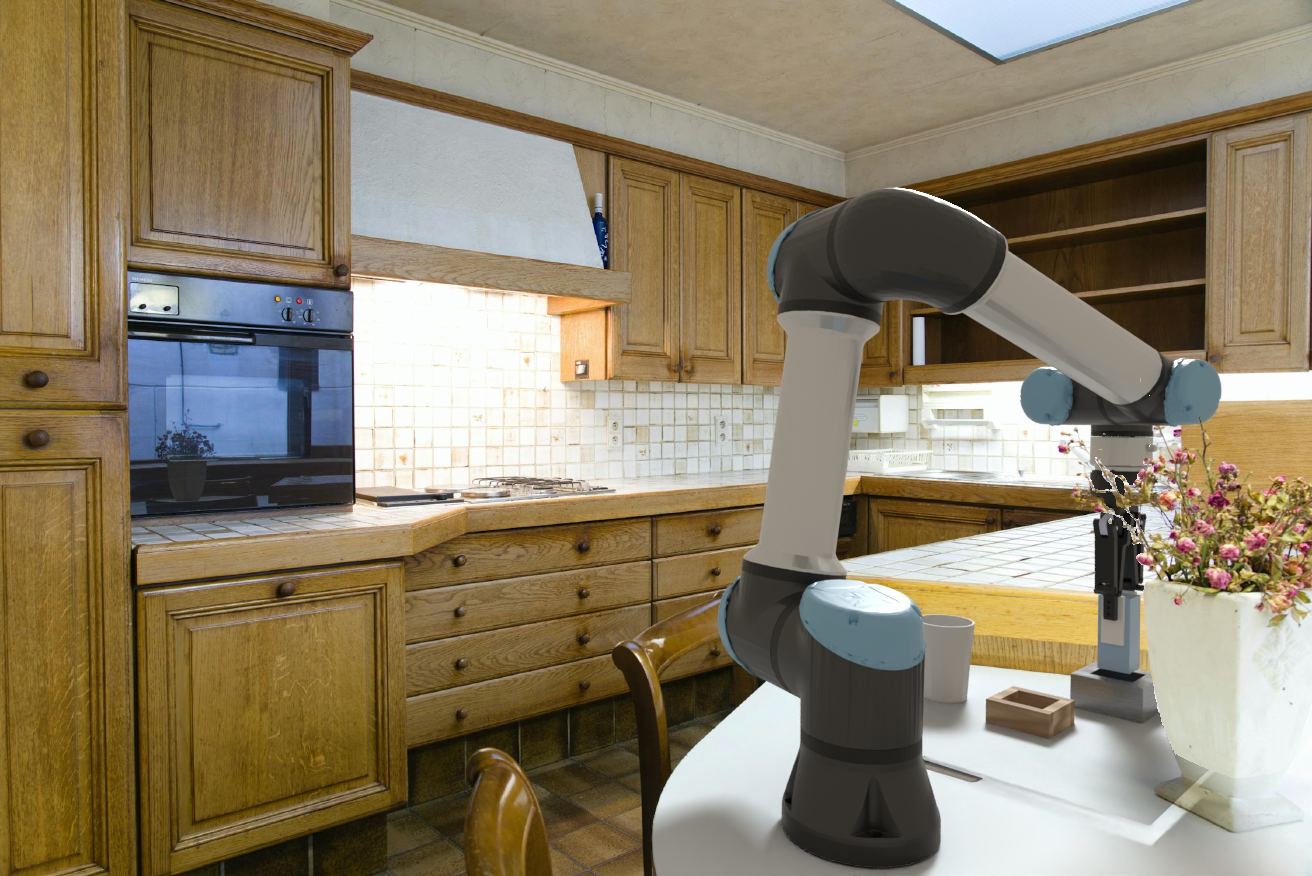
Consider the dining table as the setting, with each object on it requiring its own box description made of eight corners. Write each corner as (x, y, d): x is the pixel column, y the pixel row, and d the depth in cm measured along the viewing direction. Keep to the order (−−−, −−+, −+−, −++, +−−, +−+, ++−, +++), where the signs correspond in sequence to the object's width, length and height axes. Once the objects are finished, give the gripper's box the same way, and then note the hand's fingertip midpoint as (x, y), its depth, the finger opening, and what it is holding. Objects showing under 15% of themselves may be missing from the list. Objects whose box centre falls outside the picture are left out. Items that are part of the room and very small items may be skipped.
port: (1142, 727, 111) (1143, 688, 111) (1070, 709, 118) (1070, 673, 118) (1164, 711, 117) (1165, 674, 117) (1094, 695, 124) (1095, 661, 124)
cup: (982, 714, 118) (983, 627, 118) (923, 714, 118) (924, 626, 118) (962, 696, 126) (963, 614, 126) (907, 695, 126) (908, 613, 126)
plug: (1129, 674, 115) (1130, 599, 114) (1097, 667, 117) (1098, 594, 117) (1139, 668, 117) (1140, 595, 117) (1108, 662, 120) (1109, 590, 120)
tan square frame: (1048, 742, 105) (1049, 714, 105) (985, 725, 111) (985, 698, 111) (1074, 727, 111) (1074, 700, 111) (1012, 711, 117) (1013, 686, 117)
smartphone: (885, 730, 111) (1001, 761, 101) (885, 736, 111) (1001, 768, 101) (855, 745, 106) (974, 780, 95) (855, 751, 106) (974, 786, 95)
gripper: (1129, 472, 108) (1126, 657, 109) (1171, 467, 120) (1169, 635, 120) (1067, 469, 114) (1065, 646, 114) (1114, 465, 125) (1111, 625, 126)
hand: (1118, 640), depth 117 cm, fingers closed on plug, 4 cm apart
